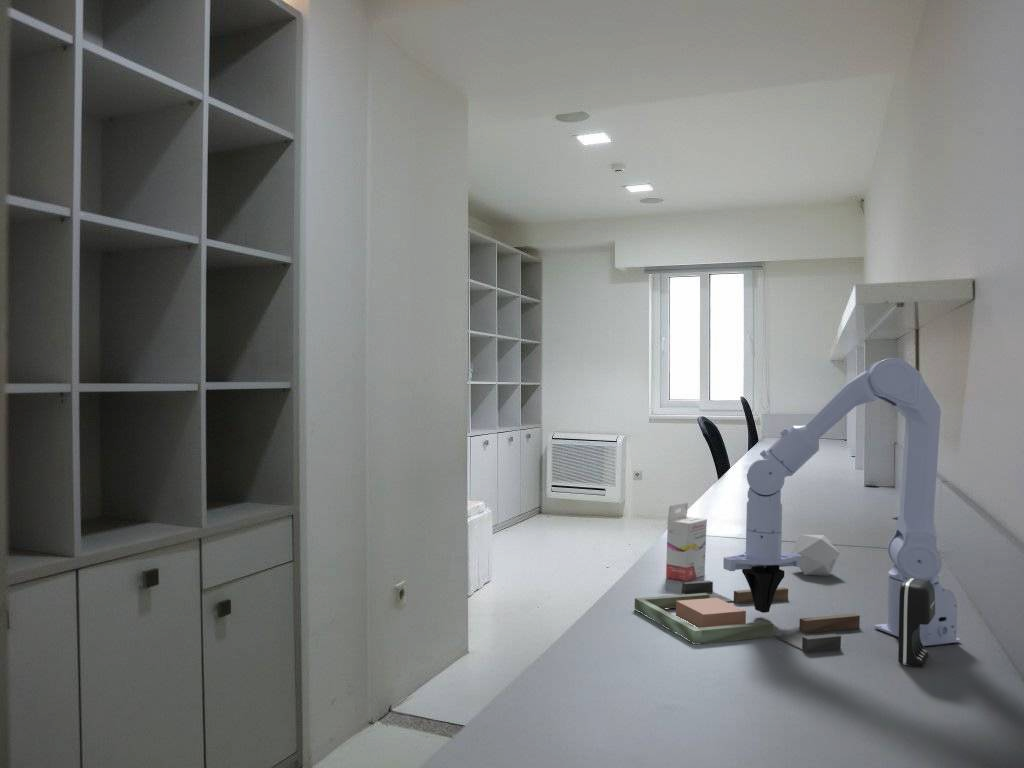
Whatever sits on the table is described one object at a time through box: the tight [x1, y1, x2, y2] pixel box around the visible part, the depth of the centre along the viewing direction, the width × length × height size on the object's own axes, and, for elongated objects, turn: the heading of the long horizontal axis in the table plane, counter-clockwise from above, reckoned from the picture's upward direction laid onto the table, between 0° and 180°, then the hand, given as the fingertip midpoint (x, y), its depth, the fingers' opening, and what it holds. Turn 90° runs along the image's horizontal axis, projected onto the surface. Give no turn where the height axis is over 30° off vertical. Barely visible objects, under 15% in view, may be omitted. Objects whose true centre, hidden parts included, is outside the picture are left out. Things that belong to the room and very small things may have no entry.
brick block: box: [675, 598, 747, 628], centre depth 125 cm, size 8×8×3 cm
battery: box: [897, 578, 935, 668], centre depth 108 cm, size 7×4×11 cm, turn 143°
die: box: [791, 533, 840, 577], centre depth 161 cm, size 8×9×10 cm
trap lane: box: [634, 580, 861, 654], centre depth 127 cm, size 34×31×2 cm
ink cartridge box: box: [665, 502, 708, 582], centre depth 155 cm, size 9×5×15 cm, turn 141°
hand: (762, 610), depth 128 cm, fingers closed
